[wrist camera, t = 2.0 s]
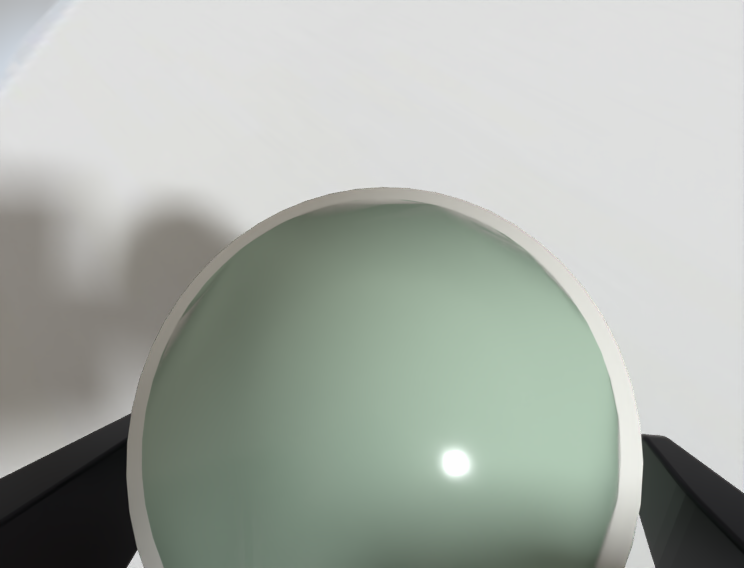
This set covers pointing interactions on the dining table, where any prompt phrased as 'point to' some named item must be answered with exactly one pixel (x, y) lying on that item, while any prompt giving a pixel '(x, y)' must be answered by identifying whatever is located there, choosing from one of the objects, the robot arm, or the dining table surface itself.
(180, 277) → the dining table surface
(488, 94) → the dining table surface
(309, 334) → the tumbler
